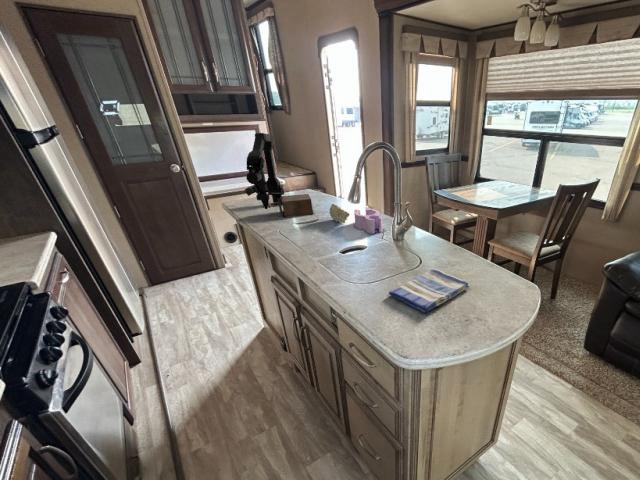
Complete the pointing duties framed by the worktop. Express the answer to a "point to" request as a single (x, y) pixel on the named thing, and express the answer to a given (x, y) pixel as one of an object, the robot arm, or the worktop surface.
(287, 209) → the cabinet
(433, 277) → the dish towel
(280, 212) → the drawer
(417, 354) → the worktop surface
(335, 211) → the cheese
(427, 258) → the worktop surface
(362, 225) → the clip
